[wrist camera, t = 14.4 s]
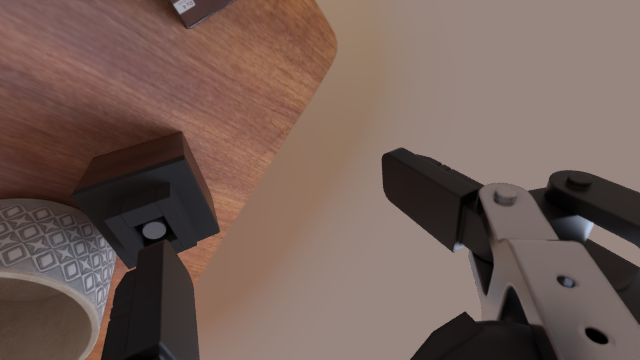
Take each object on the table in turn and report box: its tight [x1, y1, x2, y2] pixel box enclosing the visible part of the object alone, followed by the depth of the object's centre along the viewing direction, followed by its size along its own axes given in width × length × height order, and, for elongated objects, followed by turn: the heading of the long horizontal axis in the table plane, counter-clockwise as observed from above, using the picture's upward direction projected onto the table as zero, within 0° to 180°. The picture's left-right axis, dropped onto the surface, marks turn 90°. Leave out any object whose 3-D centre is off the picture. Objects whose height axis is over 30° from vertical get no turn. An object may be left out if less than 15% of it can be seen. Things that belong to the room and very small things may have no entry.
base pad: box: [71, 155, 220, 269], centre depth 29 cm, size 10×10×4 cm
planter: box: [0, 199, 116, 360], centre depth 30 cm, size 16×16×13 cm
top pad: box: [104, 183, 197, 264], centre depth 28 cm, size 6×6×3 cm
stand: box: [75, 132, 218, 224], centre depth 34 cm, size 10×10×8 cm
